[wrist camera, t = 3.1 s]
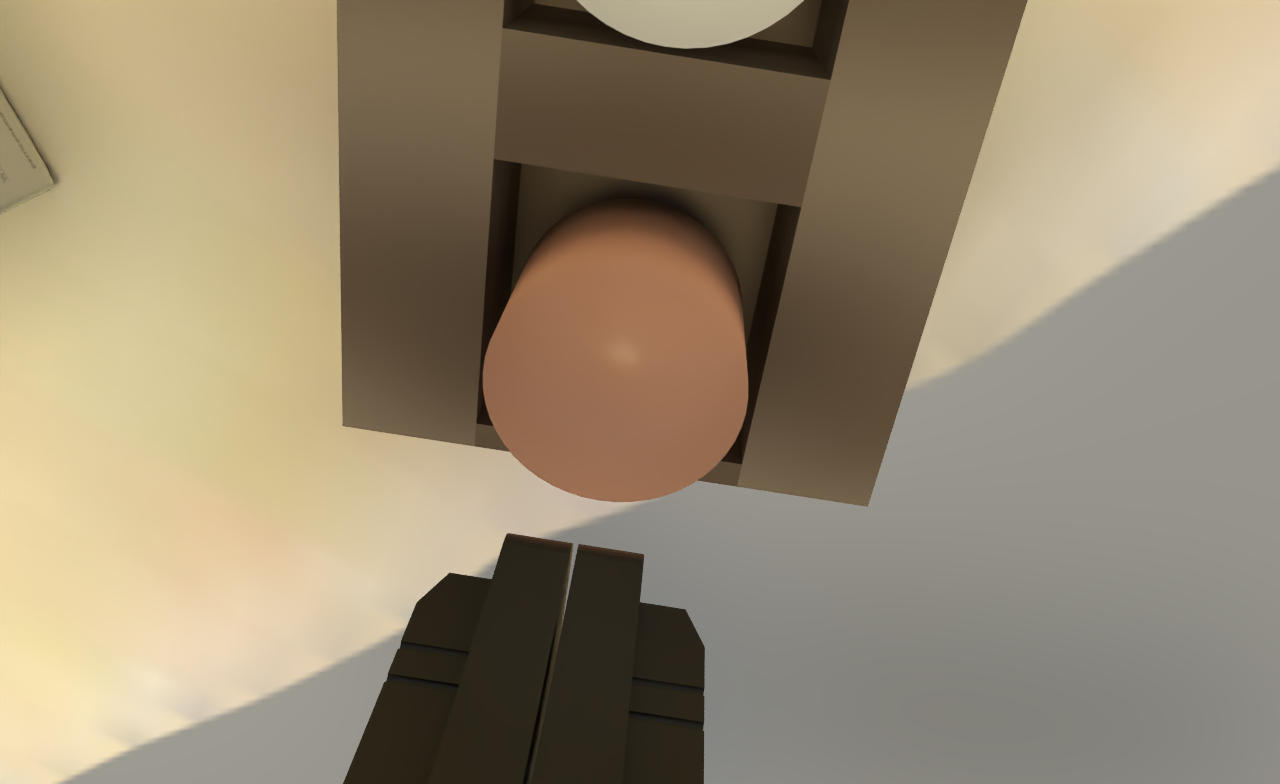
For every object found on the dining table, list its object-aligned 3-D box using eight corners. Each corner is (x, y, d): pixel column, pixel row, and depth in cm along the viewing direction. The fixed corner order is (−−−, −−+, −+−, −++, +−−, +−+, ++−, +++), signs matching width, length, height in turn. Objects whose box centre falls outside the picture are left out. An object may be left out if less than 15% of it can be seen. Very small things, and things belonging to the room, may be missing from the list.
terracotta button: (528, 181, 16) (491, 246, 13) (762, 218, 16) (773, 291, 13) (511, 386, 18) (475, 481, 15) (720, 418, 18) (722, 518, 15)
